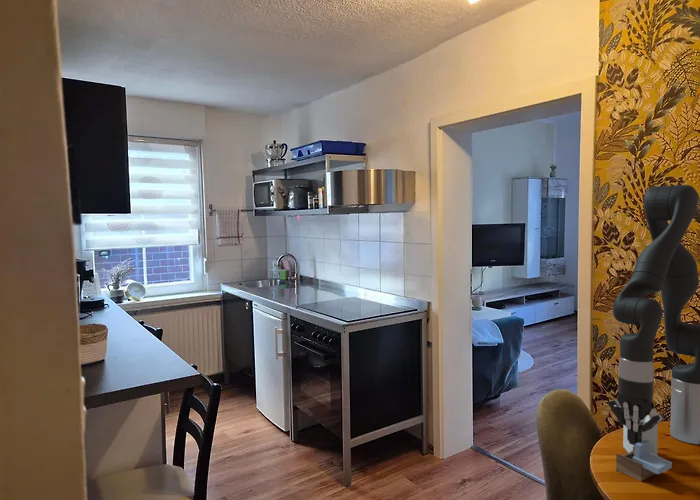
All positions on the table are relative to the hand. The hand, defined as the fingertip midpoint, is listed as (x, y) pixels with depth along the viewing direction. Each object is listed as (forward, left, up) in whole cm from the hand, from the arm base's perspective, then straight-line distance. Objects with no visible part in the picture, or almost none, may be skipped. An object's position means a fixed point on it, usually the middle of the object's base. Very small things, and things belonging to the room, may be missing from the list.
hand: (634, 444), depth 117 cm
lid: (0, +4, -4) cm, 6 cm away
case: (0, +1, -7) cm, 7 cm away
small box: (-10, -4, -7) cm, 12 cm away
